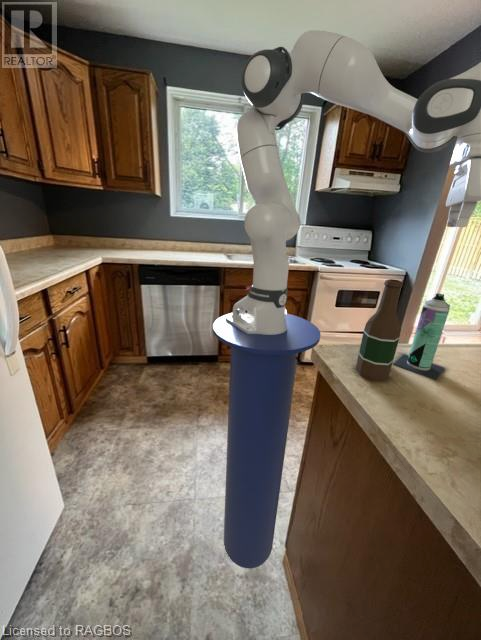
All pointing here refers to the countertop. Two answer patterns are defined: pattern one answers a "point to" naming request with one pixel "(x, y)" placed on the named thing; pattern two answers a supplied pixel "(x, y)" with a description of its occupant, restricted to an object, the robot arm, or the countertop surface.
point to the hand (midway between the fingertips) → (455, 227)
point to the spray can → (428, 333)
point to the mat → (431, 373)
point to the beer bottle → (381, 335)
